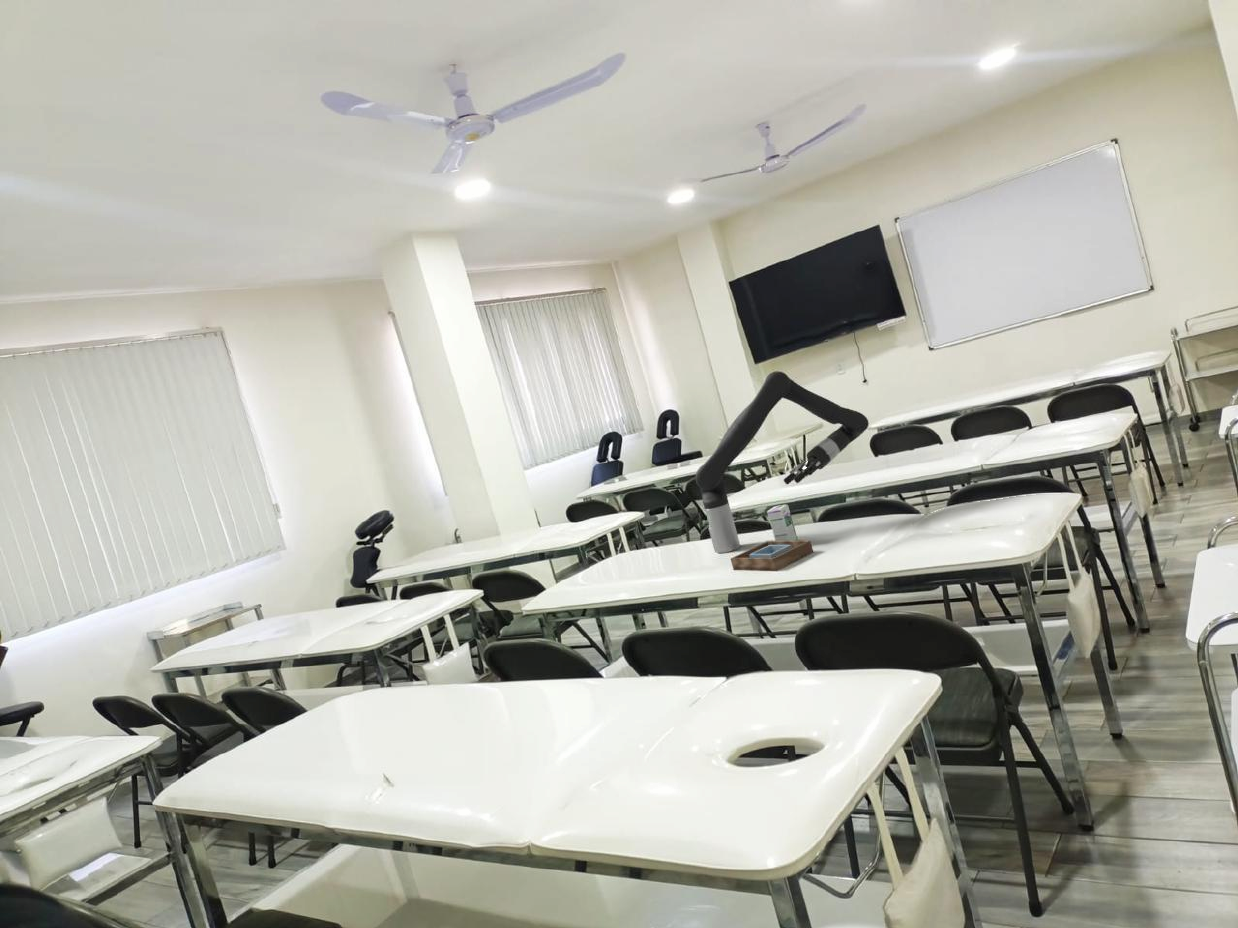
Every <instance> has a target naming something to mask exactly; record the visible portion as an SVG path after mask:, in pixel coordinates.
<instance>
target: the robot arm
mask: <svg viewBox="0 0 1238 928" xmlns="http://www.w3.org/2000/svg"><path fill="white" fill-rule="evenodd" d="M782 399H785V400H787V401H790V402H792V403H794V404H797V405H798V406H800V407H802V408H804V409H805V410H807V411H808V412H809V413H811V414H812V415H815V417H818V418H819V419H822V420H823V421H825V422H828V423H829V424H831V425H837V424H840V425H841V426H839V428H837V430H834V431H832V432H831V433H830V434H829V435H828V436H827V437H826V438H824V439H823V440H821V441H820V442H818V444H816V445H815V446H814V447H812V448H811V450H809V451H808V452H807V454H806V459H807V461H805V460H804V461H801V462H800V463H799V464H798V465H797V466H795V467H793V469H791V470H790V471H789V474H788V475H787V476H786V477H785V478H784V479H783V482H784V484H785V485H789V484H791V482H793V481H794V482H795V483H796V484H799V483H800V482H802V480H803V479H805V478H807V477H808V476H812V475H813V474H814V473H816V471H817V470H823V468H826V466H827V465H828V464H829V463H830V462H832V461H833V460H834V459H836V457H837V456H838V455H839V454H840V453H841V452H842V451H844V450H845V449H846V448H847V447H848V446H849V445H850V444H851V443H852V442H853V441H855V440H856V439H857V438H859V437H860V436H861V435H863V433H865V431H866V430H867V429H868V427H869V419H868V418H867V417H866V416H865V415H864V414H863V413H861V412H860V411H857V410H853V409H850V408H848V407H842V406H840V405H839V404H837V403H835V402H833V401H831V400H829V399H828V398H825V397H823V396H821V395H819V394H818V393H817V394H816V393H815V392H812V391H810V390H808V389H806V388H804V387H803V386H801V385H800V384H798V383H797V382H795V380H793V379H792V378H790V377H789V375H787V374H786V373H785V372H783V371H778V370H776V371H773V372H771V373H769V374H768V375H767V376H766V378H765V380H764V382H763V384H762V386H761V387H760V389H759V391H758V392H757V394H756V396H755V397H754V398H753V400H752V401H751V402H750V403H749V404H748V405H747V406H746V407H745V408H744V409H743V410H742V411H741V412H740V413H739V414H738V416H737V417H736V418H735V420H734V421H733V422H732V423H731V425H730V426H729V427H728V429H727V430H726V432H725V433H724V435H723V436H722V438H721V440H720V442H719V444H718V445H717V447H716V449H715V451H714V452H713V453H712V455H711V456H710V457H709V458H708V459H707V461H706V462H705V463H704V464H702V465H700V467H699V468H698V469H697V471H696V473H695V482H696V485H697V487H699V488H700V493H701V497H702V504H703V508H704V511H705V515H706V517H707V519H706V520H707V523H708V524H709V526H708V532H709V536H710V539H711V543H712V547H713V550H714V553H717V554H725V553H729V552H733V551H735V550H737V549H740V548H741V544H740V539H739V536H738V531H737V529H736V528H737V527H736V525H735V520H734V518H733V517H734V516H733V513H732V510H731V506H730V503H729V499H728V494H727V489H726V485H725V481H724V477H723V476H724V475H725V473H726V471H727V470H728V469H729V467H730V465H731V464H732V462H733V461H735V460H736V458H737V457H739V455H741V454H742V452H743V451H744V450H745V449H746V448H747V446H748V445H749V444H750V443H751V441H752V440H753V439H754V438H755V436H756V435H757V433H759V431H760V429H761V427H762V426H763V424H764V422H765V421H766V419H767V417H768V415H769V414H770V412H771V411H772V410H773V409H774V408H775V406H776V405H777V404H778V403H779V402H780V401H781V400H782ZM795 472H796V473H795Z"/></svg>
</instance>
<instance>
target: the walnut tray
mask: <svg viewBox="0 0 1238 928" xmlns="http://www.w3.org/2000/svg"><path fill="white" fill-rule="evenodd" d="M768 545H791V546H792V549H791V550H789V551H787V552H785V553H782V554H780V555H778V556H776V557H774V558H750V556H749V554H752V553H754V552H756V551H758V550H760V549H762V548H764V547H766V546H768ZM813 553H814V549H813V546H812V541H811V540H798V541H775V540H774V541H773V540H770V541H768V540H767V541H766V542H763V543H761V544H759V545H756V546H754V547H752V548H750V549H747V550H746V551H743V552H741V553H739V554H738V555H735V556H733V557H730V562H731V565H732V570H733V571H756V572H758V571H759V572H760V571H762V572H764V571H765V572H777V571H779V570H782V569H783V568H785V567H787V566H789V565H791V564H793V563H796V562H797V561H799V560H801V559H803V558H806V557H807V556H809V555H811V554H813Z"/></svg>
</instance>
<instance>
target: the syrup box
mask: <svg viewBox="0 0 1238 928" xmlns="http://www.w3.org/2000/svg"><path fill="white" fill-rule="evenodd" d="M766 514H767V516H768V520H769V523H770V526H771V530H772V533H773V537H774V541H799V539H798V536H797V532H796V528H795V524H794V522H793V518H792V515H791V512H790V508H789V504H779V505H778V504H777V505H774V506H773V507H772V508H770V509H769V510H767V511H766Z"/></svg>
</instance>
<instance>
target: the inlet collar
mask: <svg viewBox="0 0 1238 928" xmlns="http://www.w3.org/2000/svg"><path fill="white" fill-rule="evenodd" d="M791 549H792V546H791V545H768V546H766V547H764V548H762V549H760V550H758V551H756V552H754V553H752V554H749V556H750V558H774V557H776V556H778V555H780V554H782V553H785V552H787V551H789V550H791Z"/></svg>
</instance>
